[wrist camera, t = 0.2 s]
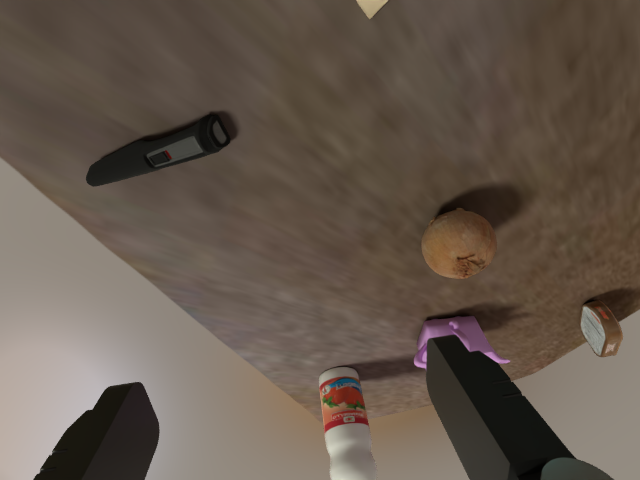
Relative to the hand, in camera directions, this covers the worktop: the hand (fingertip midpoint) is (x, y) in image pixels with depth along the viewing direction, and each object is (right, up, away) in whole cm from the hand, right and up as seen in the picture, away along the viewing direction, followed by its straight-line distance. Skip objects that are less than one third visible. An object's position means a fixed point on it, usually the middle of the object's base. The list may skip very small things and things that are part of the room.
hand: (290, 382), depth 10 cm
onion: (+19, +7, +40) cm, 44 cm away
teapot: (+27, -14, +60) cm, 67 cm away
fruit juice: (+5, -28, +69) cm, 75 cm away
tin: (+58, -12, +63) cm, 86 cm away
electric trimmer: (-16, +14, +28) cm, 35 cm away
